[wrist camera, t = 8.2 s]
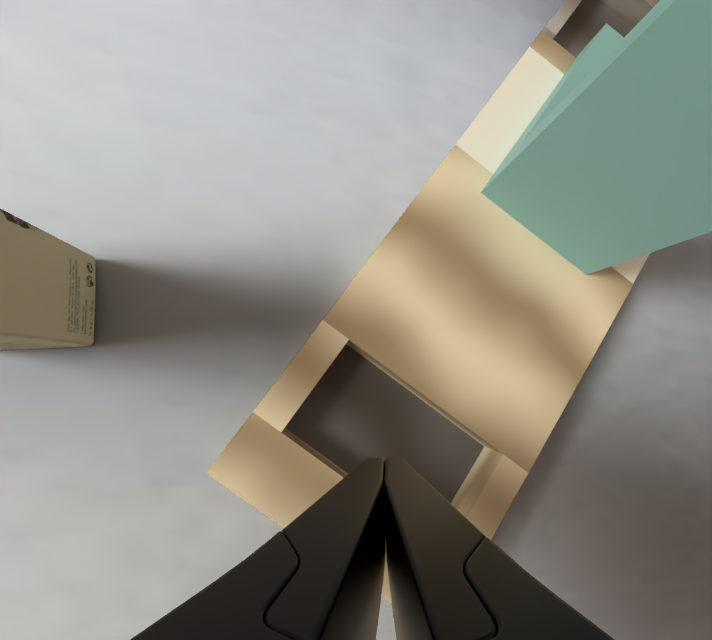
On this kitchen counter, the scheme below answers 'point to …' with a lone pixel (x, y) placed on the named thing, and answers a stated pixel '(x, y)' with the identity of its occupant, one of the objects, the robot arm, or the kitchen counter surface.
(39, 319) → the box
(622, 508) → the kitchen counter surface
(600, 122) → the teal L-block
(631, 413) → the kitchen counter surface
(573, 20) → the birch board
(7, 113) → the kitchen counter surface
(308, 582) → the robot arm
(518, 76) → the cream pad
